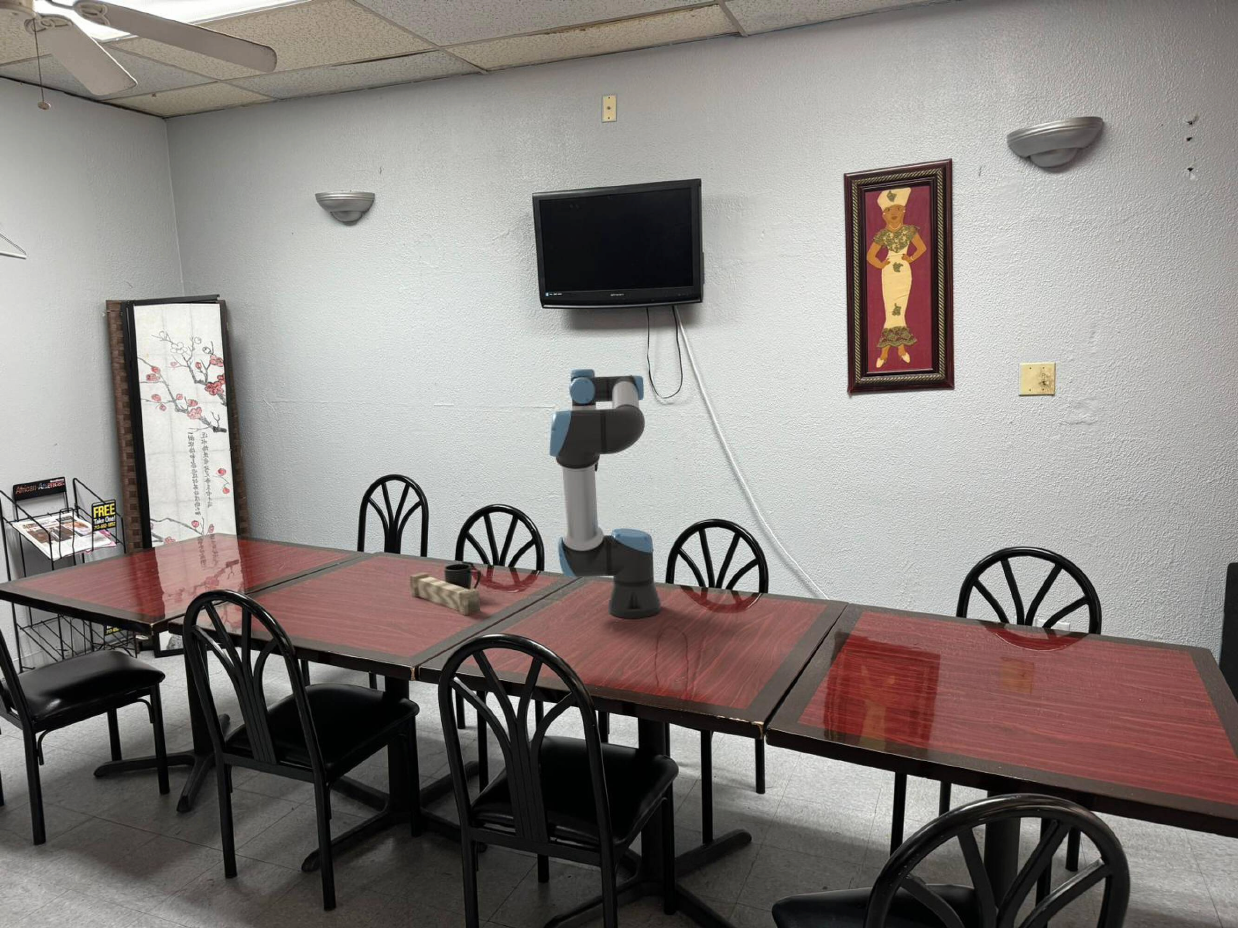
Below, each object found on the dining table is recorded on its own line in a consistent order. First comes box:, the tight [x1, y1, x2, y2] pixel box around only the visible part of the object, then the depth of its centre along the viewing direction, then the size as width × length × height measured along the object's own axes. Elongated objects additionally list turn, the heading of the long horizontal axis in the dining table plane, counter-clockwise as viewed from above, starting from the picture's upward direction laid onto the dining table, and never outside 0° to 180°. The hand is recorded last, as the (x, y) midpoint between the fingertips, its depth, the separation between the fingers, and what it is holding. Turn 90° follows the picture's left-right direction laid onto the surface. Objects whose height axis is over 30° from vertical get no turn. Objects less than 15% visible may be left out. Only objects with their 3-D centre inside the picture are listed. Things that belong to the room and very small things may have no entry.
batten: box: [409, 571, 481, 616], centre depth 267 cm, size 30×5×6 cm, turn 44°
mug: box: [443, 563, 482, 590], centre depth 272 cm, size 8×12×10 cm
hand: (587, 493), depth 279 cm, fingers closed
